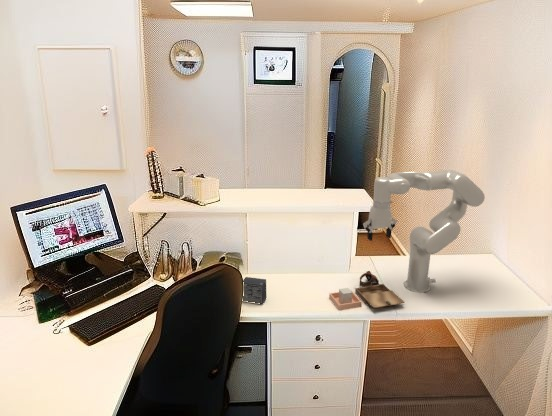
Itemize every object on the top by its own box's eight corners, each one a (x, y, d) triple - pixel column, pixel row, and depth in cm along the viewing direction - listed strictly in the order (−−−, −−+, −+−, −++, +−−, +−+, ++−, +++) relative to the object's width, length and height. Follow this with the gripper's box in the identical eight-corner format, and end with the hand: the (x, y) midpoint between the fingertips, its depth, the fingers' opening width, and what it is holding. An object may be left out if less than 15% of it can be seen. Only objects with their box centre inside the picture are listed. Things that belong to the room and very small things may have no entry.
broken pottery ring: (382, 291, 211) (376, 280, 207) (364, 297, 213) (358, 287, 209) (378, 275, 221) (372, 264, 217) (361, 281, 223) (355, 270, 219)
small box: (267, 298, 204) (266, 278, 201) (263, 305, 198) (262, 285, 195) (246, 295, 207) (245, 276, 204) (241, 302, 201) (241, 282, 198)
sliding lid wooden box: (383, 289, 212) (383, 282, 210) (404, 309, 194) (405, 301, 193) (354, 294, 207) (355, 286, 206) (373, 314, 190) (374, 306, 189)
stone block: (347, 299, 202) (348, 287, 200) (351, 303, 198) (352, 292, 196) (338, 300, 201) (339, 289, 199) (342, 305, 196) (343, 293, 195)
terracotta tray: (350, 295, 206) (351, 290, 205) (361, 307, 196) (361, 301, 195) (329, 299, 203) (329, 293, 202) (338, 311, 193) (339, 305, 192)
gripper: (393, 200, 201) (391, 233, 207) (360, 203, 197) (358, 237, 202) (402, 204, 194) (399, 239, 200) (368, 208, 190) (366, 243, 195)
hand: (379, 238), depth 201 cm, fingers open, 9 cm apart
